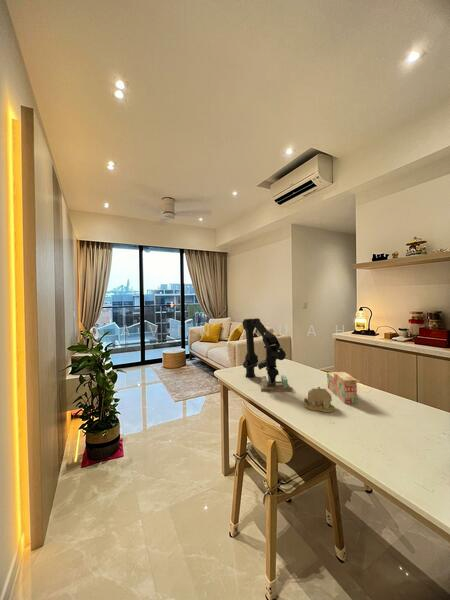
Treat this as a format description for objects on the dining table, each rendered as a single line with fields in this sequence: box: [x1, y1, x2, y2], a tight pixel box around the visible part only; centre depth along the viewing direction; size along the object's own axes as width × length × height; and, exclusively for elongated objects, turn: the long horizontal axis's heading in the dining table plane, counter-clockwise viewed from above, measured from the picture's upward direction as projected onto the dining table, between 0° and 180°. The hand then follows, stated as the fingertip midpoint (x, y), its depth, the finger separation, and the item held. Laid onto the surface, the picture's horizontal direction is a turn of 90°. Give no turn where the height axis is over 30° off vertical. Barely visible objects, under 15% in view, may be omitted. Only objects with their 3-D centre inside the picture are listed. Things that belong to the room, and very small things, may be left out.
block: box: [267, 374, 277, 385], centre depth 150 cm, size 4×4×5 cm
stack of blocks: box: [326, 371, 358, 405], centre depth 135 cm, size 21×6×12 cm, turn 0°
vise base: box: [259, 375, 292, 392], centre depth 150 cm, size 12×17×6 cm
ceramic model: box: [303, 386, 336, 413], centre depth 122 cm, size 14×11×10 cm
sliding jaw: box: [280, 374, 289, 387], centre depth 150 cm, size 8×2×4 cm, turn 176°
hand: (271, 382), depth 150 cm, fingers closed on block, 4 cm apart
